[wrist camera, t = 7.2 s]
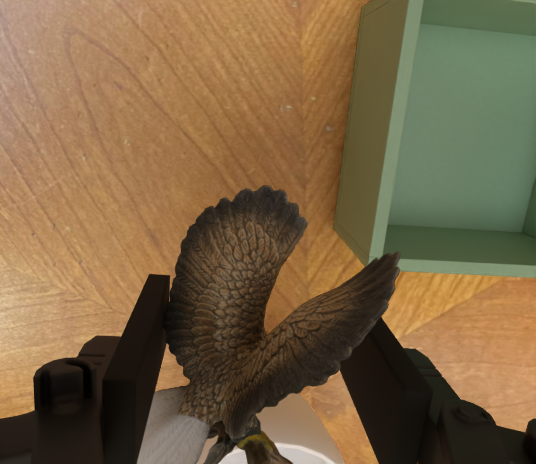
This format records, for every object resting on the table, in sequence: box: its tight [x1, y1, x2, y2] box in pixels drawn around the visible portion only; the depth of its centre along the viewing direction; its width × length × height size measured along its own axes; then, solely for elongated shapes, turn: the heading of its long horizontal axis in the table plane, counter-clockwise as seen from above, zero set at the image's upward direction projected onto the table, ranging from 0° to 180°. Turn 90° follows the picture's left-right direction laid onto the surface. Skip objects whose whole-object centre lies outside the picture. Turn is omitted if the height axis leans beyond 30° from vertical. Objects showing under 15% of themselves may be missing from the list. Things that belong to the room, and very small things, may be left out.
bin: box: [333, 0, 536, 278], centre depth 29 cm, size 16×16×9 cm
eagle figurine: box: [137, 185, 401, 464], centre depth 15 cm, size 8×7×9 cm
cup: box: [197, 392, 345, 464], centre depth 31 cm, size 10×10×14 cm
